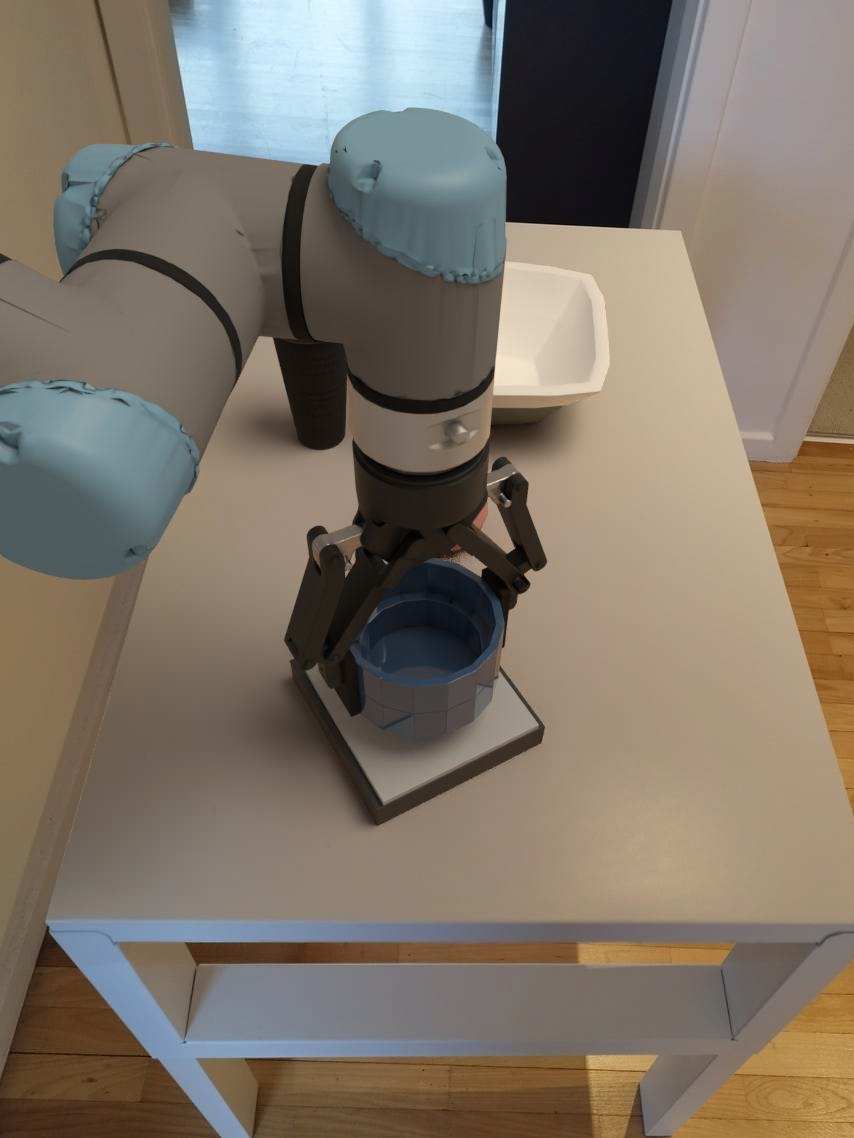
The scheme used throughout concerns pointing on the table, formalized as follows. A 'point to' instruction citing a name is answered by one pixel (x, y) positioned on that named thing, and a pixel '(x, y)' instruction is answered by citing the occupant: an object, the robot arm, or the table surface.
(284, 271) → the robot arm
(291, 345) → the drinking cup
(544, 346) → the bowl
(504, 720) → the scale
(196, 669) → the table surface
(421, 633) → the blue bowl
